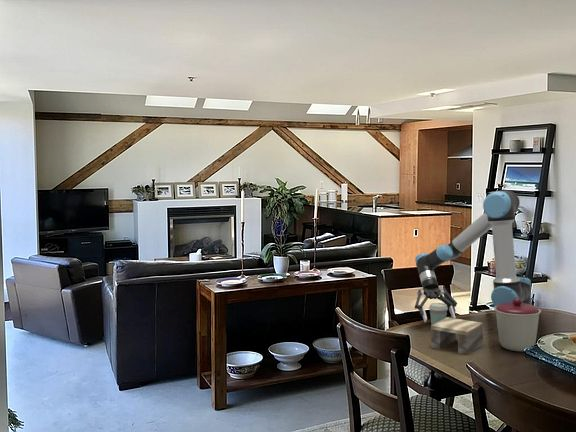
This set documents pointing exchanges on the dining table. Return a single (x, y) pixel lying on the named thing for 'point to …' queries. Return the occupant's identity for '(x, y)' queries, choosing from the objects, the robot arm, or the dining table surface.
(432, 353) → the dining table surface
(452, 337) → the shelf
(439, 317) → the coffee cup
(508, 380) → the dining table surface
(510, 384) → the dining table surface
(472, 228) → the robot arm
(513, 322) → the canister
